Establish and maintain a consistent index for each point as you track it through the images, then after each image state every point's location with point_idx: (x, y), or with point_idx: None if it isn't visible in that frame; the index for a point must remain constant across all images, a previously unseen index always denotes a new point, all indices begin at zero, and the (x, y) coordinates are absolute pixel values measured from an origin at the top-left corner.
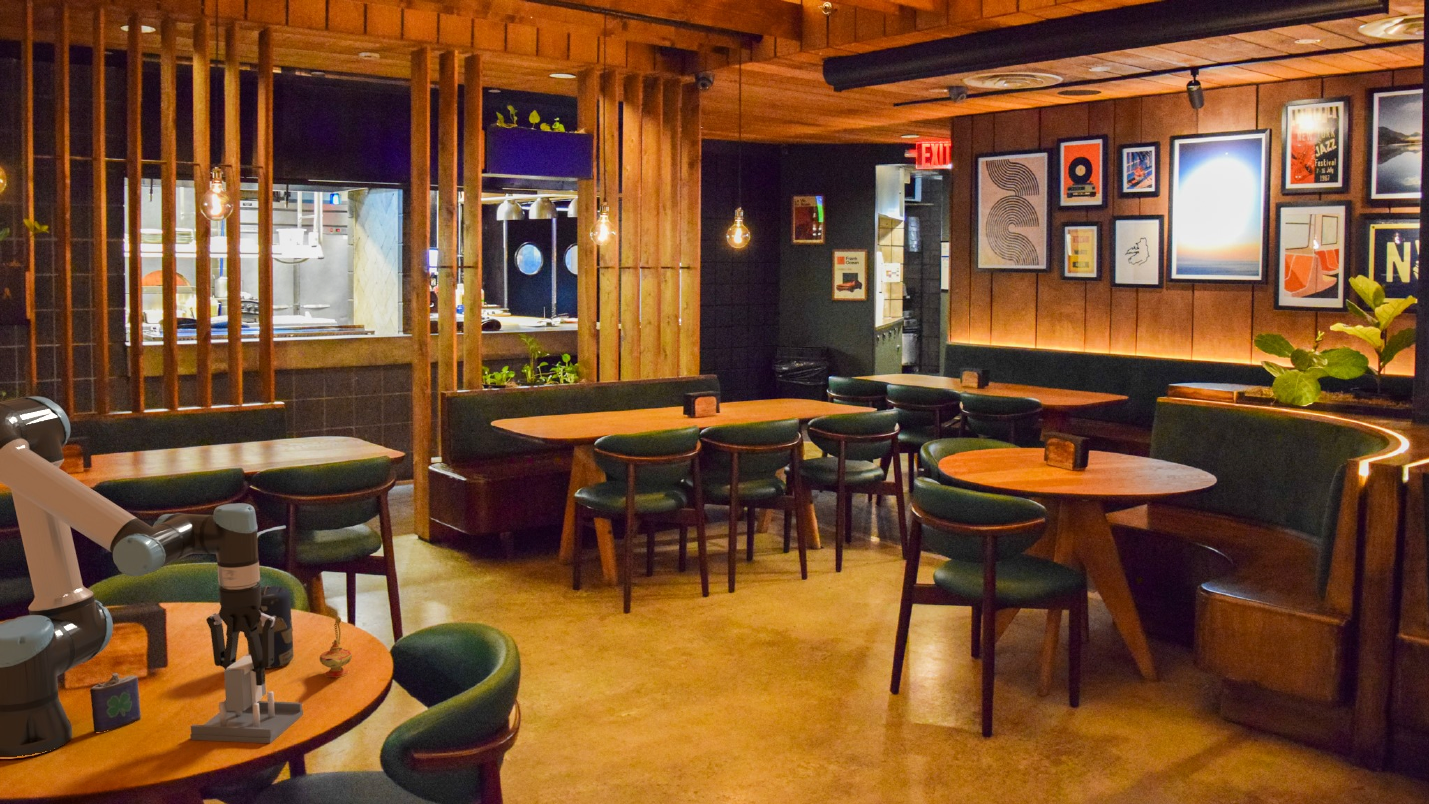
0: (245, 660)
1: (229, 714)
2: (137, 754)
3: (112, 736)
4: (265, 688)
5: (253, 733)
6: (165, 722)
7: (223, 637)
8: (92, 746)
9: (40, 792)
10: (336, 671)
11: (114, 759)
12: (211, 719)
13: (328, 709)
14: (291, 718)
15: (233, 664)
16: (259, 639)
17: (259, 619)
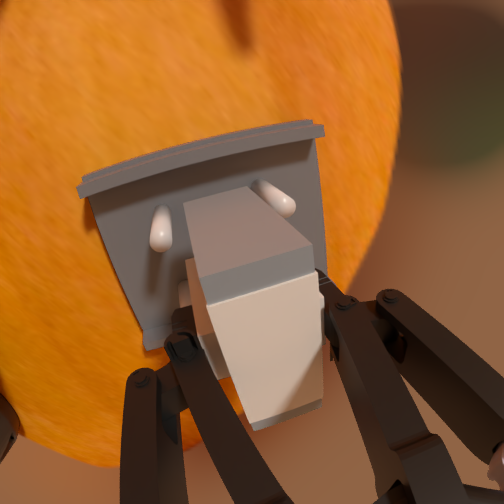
0: (269, 351)
1: (132, 219)
2: (120, 395)
3: (15, 362)
4: (251, 191)
5: None
6: (20, 288)
7: (162, 495)
8: (33, 393)
9: None
10: None
11: (107, 412)
12: (115, 263)
13: (345, 76)
14: (316, 180)
15: (249, 398)
16: (412, 401)
17: (493, 496)
